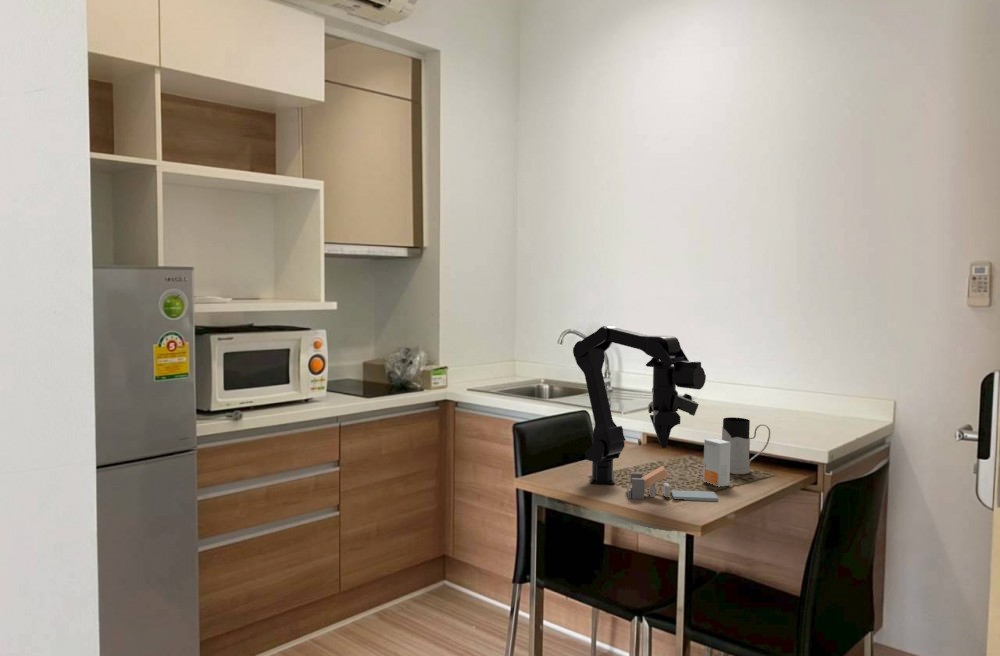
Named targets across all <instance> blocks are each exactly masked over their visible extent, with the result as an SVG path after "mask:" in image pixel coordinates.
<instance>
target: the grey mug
mask: <svg viewBox="0 0 1000 656" xmlns="http://www.w3.org/2000/svg"><path fill="white" fill-rule="evenodd" d="M750 423H751V420H750V419H749V418H744V417H735V416H734V417H724V418H723V419H722V427H721V440H724V441H728V442H731V447H730V474H733V475H735V474H736V475H745V474H749V473H751V468H750V465H751V462H752V461H753V460H754V459H755V458H756V457H758V456H760V454H761V453H763V452H764V451H765V450H766V448H767V447H768V444H769V443H770V438H771V429H770V427H769V426H768V425H767V424H764V423H763V424H758V425H756V427H755V429H754V435H753V436H752V437H750V428H751V427H750V426H751V424H750ZM762 426H764V427H766V428H767V429H768V437H767V441H766V443H765V445H764V446H763V448H762V449H761V450H760V451H759V452H758V453H756V454H754V456H752V457H751V458H750V444H751V440H754V439H755V438H756V436H757V430H758V428H760V427H762Z"/></svg>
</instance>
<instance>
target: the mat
mask: <svg viewBox="0 0 1000 656" xmlns="http://www.w3.org/2000/svg"><path fill="white" fill-rule="evenodd" d="M671 493H672V494H671ZM670 494H671V497H672V496H673V497H672V499H673V498H674V499H684V500H683V501H698V502H699V501H700V502H701V501H702V502H703V501H705V502H719V496H718V495H717V494H716V492H715V491H707V490H706V491H705V490H704V491H703V490H702V491H701V490H673V489H671V490H670ZM674 499H673V500H674Z"/></svg>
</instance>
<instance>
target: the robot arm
mask: <svg viewBox="0 0 1000 656" xmlns="http://www.w3.org/2000/svg"><path fill="white" fill-rule="evenodd" d="M612 344H617V345H621V346H625V347H628V348H633V349H637V350H639V351H642V352H643V353H644V354H646V355H647V356H649V357H650V358H651V359H650V360H649V361H648V362H646V364H645V366H646V367H651V368H652V369H653V370H652V372H653V373H652V388H651V392H652V401H651V402H650V403H649V404H648V405H647V406H648V407H647V408H648V409H647V411H648V414H650V415H649V417H650V420H651V423H652V427H653V428H654V431H655V435H656V437H657V440H658V442H659V443H658V444H660V447H661V448H662V449H666V448H667V447H668V442H669V438H670V435H671V431H672V429H673V428H674V427H675V426H678V425H681V416H680V414H679V413H678V411H679V410H680V411H681V412H684V413H688V414H689V415H691V416H693V417H694V416H696V413H697V410H698V407H699V402H696V400H693V398H692V395H690V394H688V393H684V394H683V395H679V392H678V391H677V390H676V387H677V388H682V389H692V390H701V389H703V388H704V385H705V383H706V379H707V375H706V373H705V369H704V368H703V367H702V361H690V360H689V359H688V357H687V356H686V353H685V352H684V350H683V349H682V346H681V343H680V341H679V339H678V338H677V337H676V336H673V335H650V334H649V335H648V334H644V333H639V332H636V331H632V330H627V329H624V328H623V329H622V328H618V327H616V326H614V325H605V326H601V327H600V328H598V329H597V330H596V331H595V332H592V333H591V334H588V336H586V337H584V338H583V339H582V340H579V341H577V342H576V343H575V344H574V346H573V347H572V353H573V358H574V360H575V362H576V365H577V366H578V368H579V369H580V370H581V371H582V373H583V375H584V377H585V378H584V379H585V382H586V383H585V384H586V388H587V392H588V398H589V403H590V407H591V411H592V416H593V420H594V429H593V431H592V437H591V438H592V445H591V446H590V447H589V448H588V449H586V451H585V452H584V454H585V455H584V456H585V458H586V459H585V460H586V461H590V462H591V465H592V466H591V476H590V477H589V480H590V484H597V485H598V484H599V485H600V484H601V485H615V482H616V481H615V477H614V460H616V459H619V458H620V455H621V452H622V451H623V449H624V448H625V441H626V438H625V435H624V429H623V426H622V425H619V426H618V425H617V424H616V423H615V422H614V420H613V415H612V412H611V405H610V401H609V398H608V392H607V388H606V383H605V379H604V375H603V374H604V373H603V367H604V364H605V363H604V362H605V352H606V351H607V350H608V349H609V348H610V347H611V346H612Z"/></svg>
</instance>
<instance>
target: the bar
mask: <svg viewBox="0 0 1000 656" xmlns="http://www.w3.org/2000/svg"><path fill="white" fill-rule="evenodd" d="M667 477H669V473H668V471H667V470H666V468H665V466H664V465H661V466H660V467H657V468H656V469H654V470H652V471H651V472H648V473H647V474H645V475H644V476H643V475H642V477H641V478H644V490H646V489H649V487H650V486H651V485H653V484H655V485H656V484H657V483H659V482H661V481H662V480H664V479H665V478H667ZM628 484H629V485H630V488H631V490H632V483H631V484H630V483H628Z"/></svg>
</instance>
